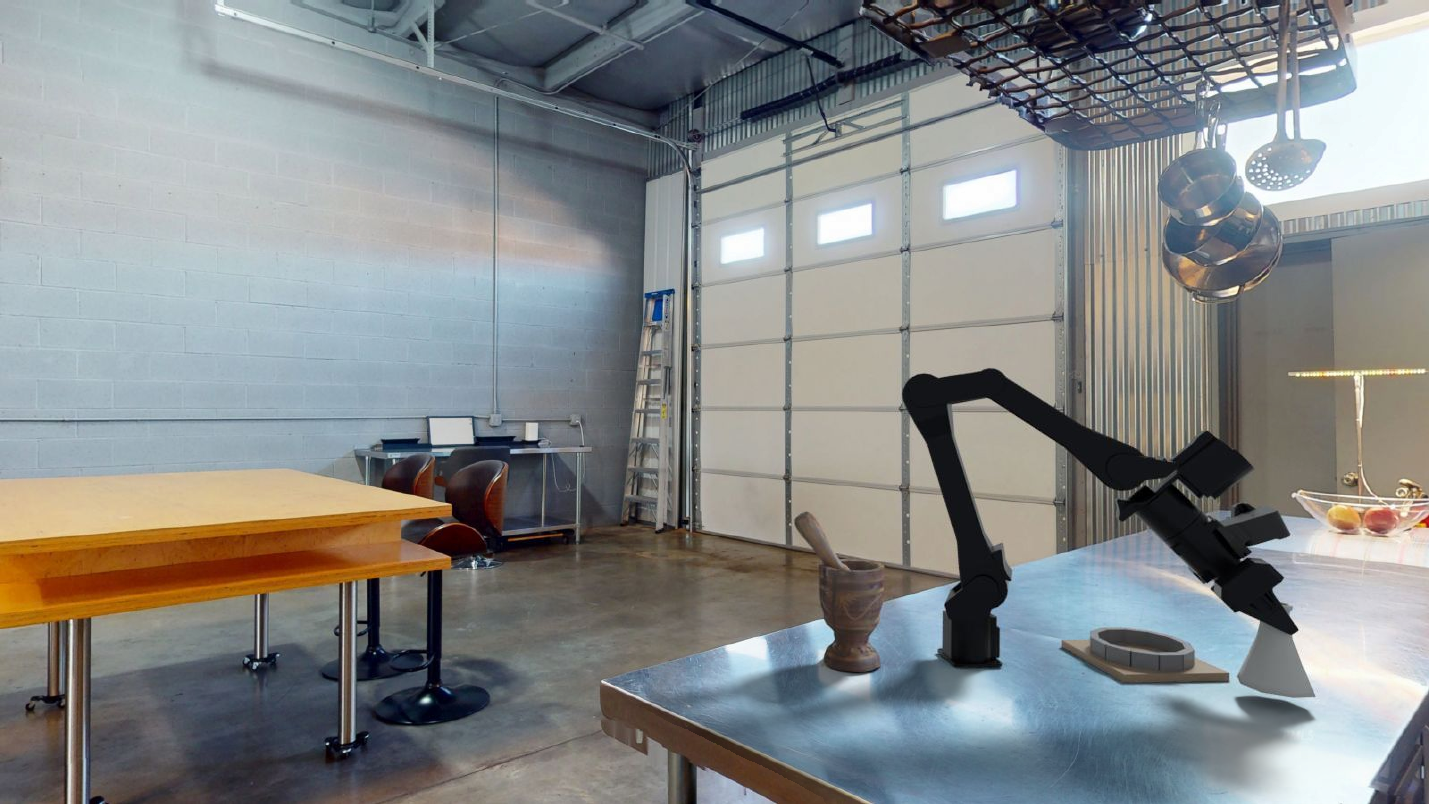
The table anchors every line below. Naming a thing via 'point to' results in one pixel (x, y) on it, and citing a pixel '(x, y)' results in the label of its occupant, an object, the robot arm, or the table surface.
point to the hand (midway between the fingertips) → (1290, 628)
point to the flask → (1275, 664)
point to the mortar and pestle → (846, 600)
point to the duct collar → (1143, 656)
